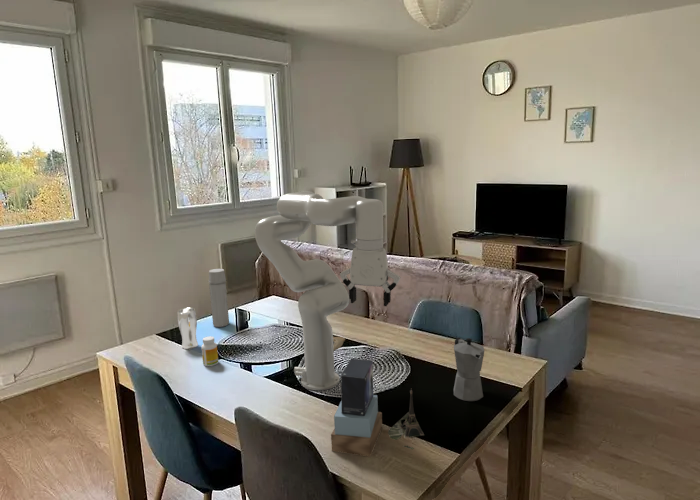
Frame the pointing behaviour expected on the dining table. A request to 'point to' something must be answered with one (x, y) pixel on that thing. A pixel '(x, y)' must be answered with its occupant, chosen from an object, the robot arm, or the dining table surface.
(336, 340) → the jawbone
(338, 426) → the slate-blue block
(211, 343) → the supplement bottle
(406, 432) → the eiffel tower figurine
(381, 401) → the dining table surface
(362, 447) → the walnut slab
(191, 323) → the beer glass
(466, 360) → the coffeepot
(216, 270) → the water bottle
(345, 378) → the small box
